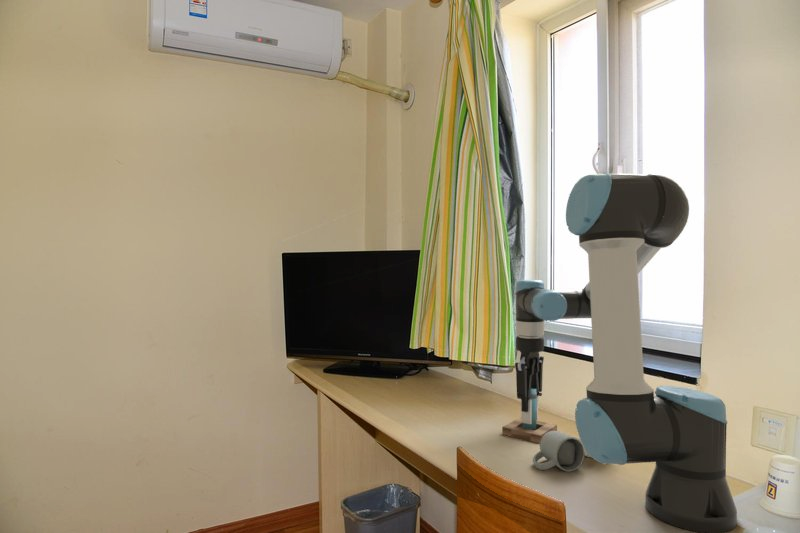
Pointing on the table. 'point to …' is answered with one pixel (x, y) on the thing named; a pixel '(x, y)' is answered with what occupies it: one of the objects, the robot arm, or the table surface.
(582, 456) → the ceramic mug
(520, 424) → the square hole plate
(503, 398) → the table surface
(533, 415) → the banded teal cylinder
